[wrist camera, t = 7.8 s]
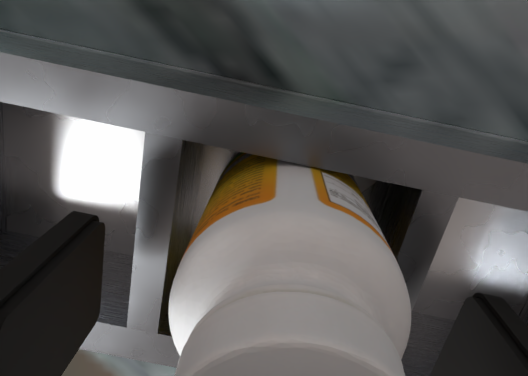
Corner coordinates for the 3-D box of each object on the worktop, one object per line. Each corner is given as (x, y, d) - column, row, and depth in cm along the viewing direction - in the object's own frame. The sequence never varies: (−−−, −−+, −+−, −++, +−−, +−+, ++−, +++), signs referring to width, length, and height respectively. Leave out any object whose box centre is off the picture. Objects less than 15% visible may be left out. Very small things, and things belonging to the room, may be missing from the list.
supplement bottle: (214, 256, 16) (124, 537, 7) (217, 127, 14) (99, 281, 5) (345, 267, 16) (428, 567, 7) (367, 138, 14) (519, 317, 5)
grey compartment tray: (-30, 22, 14) (-183, 13, 10) (625, 162, 15) (781, 217, 10) (-17, 237, 17) (-126, 309, 13) (523, 344, 18) (606, 450, 13)
